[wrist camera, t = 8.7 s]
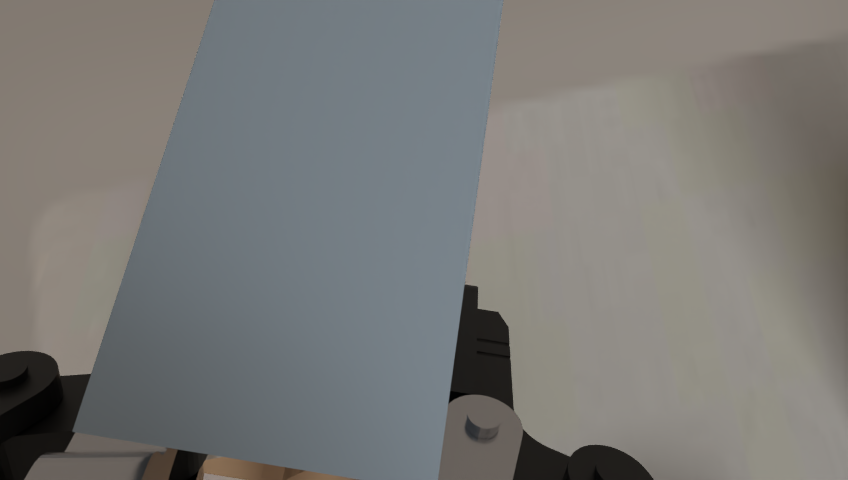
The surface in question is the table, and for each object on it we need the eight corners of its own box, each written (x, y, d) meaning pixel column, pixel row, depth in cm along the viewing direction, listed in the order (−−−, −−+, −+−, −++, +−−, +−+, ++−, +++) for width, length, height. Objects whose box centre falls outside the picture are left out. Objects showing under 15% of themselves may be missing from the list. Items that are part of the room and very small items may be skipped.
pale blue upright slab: (456, 197, 19) (522, -138, 8) (419, 446, 17) (435, 491, 5) (354, 181, 19) (270, -172, 8) (302, 427, 17) (72, 431, 5)
